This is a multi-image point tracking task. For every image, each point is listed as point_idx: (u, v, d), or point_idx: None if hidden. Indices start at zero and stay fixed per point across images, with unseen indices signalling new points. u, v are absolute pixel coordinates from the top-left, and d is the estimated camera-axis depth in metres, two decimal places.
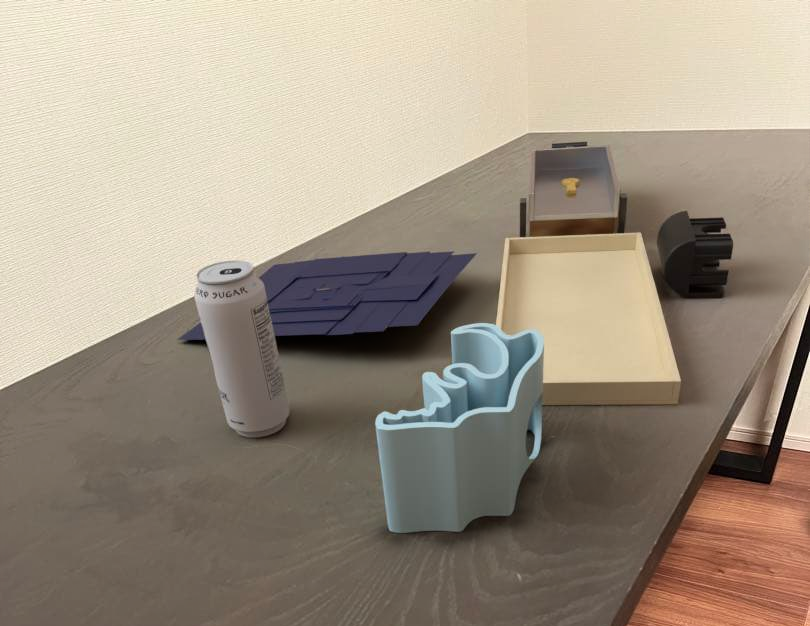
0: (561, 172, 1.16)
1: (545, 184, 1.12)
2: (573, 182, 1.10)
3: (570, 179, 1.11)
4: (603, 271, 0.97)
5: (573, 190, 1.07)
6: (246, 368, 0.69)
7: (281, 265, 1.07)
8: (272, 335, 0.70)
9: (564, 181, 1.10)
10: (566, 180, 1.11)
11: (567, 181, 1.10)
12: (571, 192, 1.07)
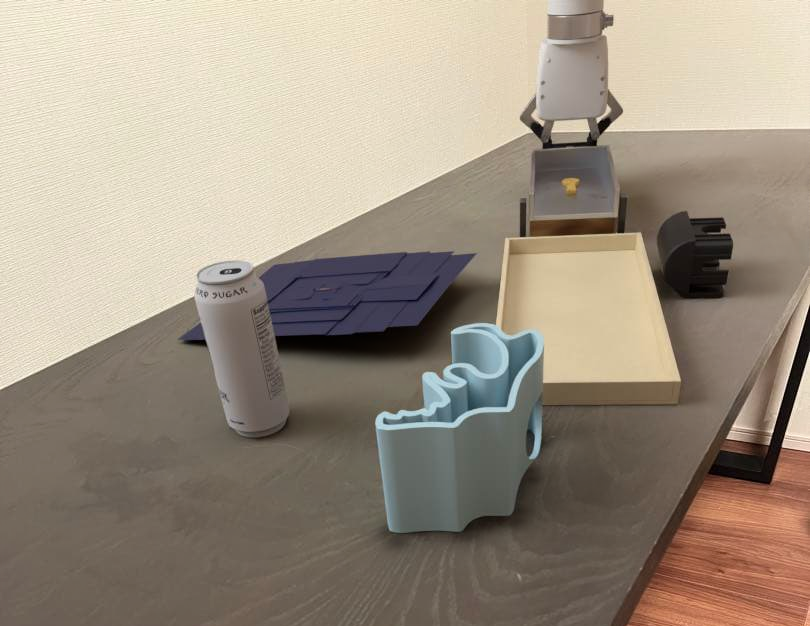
0: (561, 172, 1.16)
1: (545, 184, 1.12)
2: (573, 182, 1.10)
3: (570, 179, 1.11)
4: (603, 271, 0.97)
5: (573, 190, 1.07)
6: (246, 368, 0.69)
7: (281, 265, 1.07)
8: (272, 335, 0.70)
9: (564, 181, 1.10)
10: (566, 180, 1.11)
11: (567, 181, 1.10)
12: (571, 192, 1.07)
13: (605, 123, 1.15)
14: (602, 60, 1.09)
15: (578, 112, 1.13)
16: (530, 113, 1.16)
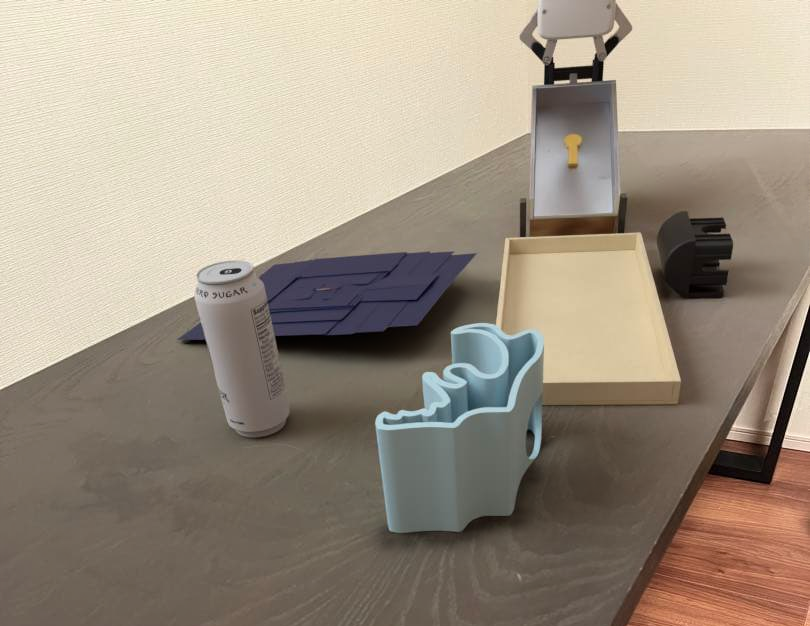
0: (564, 113, 1.09)
1: (546, 142, 1.07)
2: (575, 145, 1.05)
3: (572, 137, 1.06)
4: (603, 271, 0.97)
5: (575, 163, 1.04)
6: (246, 368, 0.69)
7: (281, 265, 1.07)
8: (272, 335, 0.70)
9: (566, 142, 1.06)
10: (568, 139, 1.06)
11: (569, 142, 1.06)
12: (572, 165, 1.04)
13: (612, 42, 1.06)
14: None
15: (583, 29, 1.04)
16: (531, 31, 1.06)
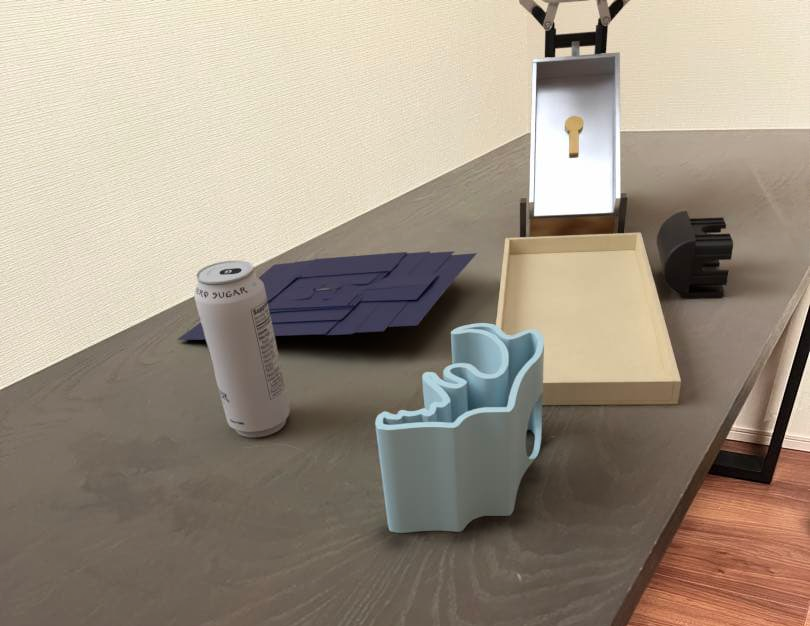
0: (565, 88, 1.05)
1: (547, 124, 1.04)
2: (576, 130, 1.03)
3: (574, 120, 1.03)
4: (603, 271, 0.97)
5: (575, 153, 1.02)
6: (246, 368, 0.69)
7: (281, 265, 1.07)
8: (272, 335, 0.70)
9: (567, 126, 1.03)
10: (569, 123, 1.03)
11: (570, 126, 1.03)
12: (573, 154, 1.02)
13: (617, 5, 1.00)
14: None
15: None
16: None
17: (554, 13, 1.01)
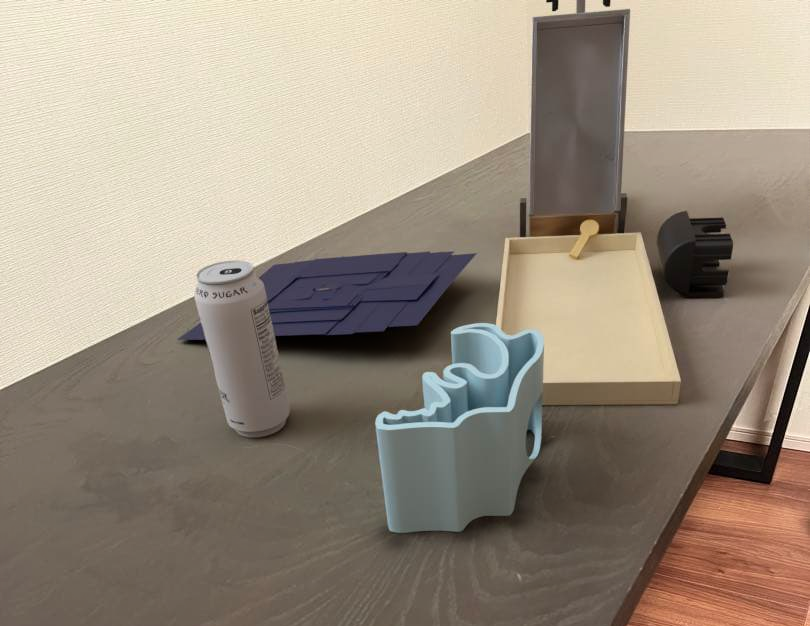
0: (568, 43, 0.95)
1: (548, 96, 0.97)
2: (588, 235, 1.01)
3: (591, 224, 1.01)
4: (603, 271, 0.97)
5: (575, 256, 1.00)
6: (246, 368, 0.69)
7: (281, 265, 1.07)
8: (272, 335, 0.70)
9: (582, 227, 1.01)
10: (585, 225, 1.01)
11: (584, 229, 1.01)
12: (573, 257, 1.00)
13: None
14: None
15: None
16: None
17: None
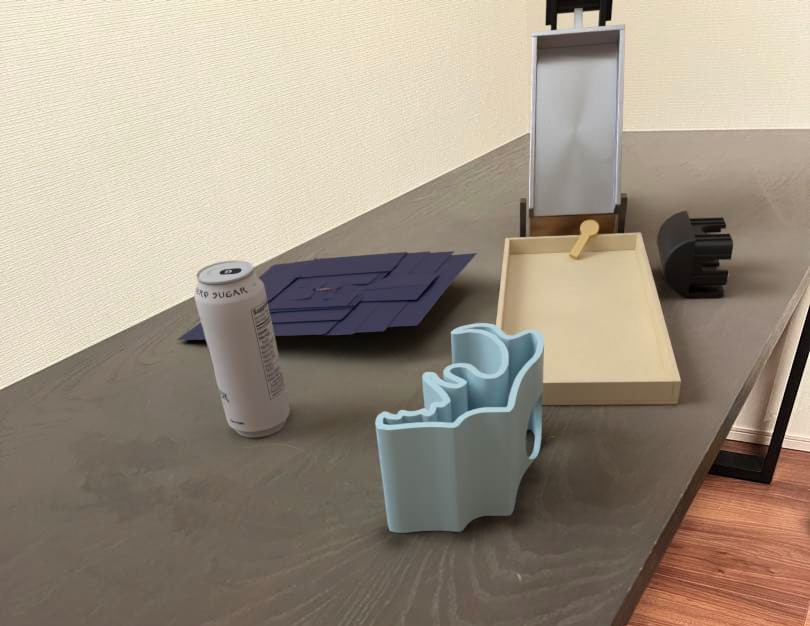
0: (567, 61, 1.00)
1: (547, 107, 1.01)
2: (588, 235, 1.01)
3: (591, 224, 1.01)
4: (603, 271, 0.97)
5: (575, 256, 1.00)
6: (246, 368, 0.69)
7: (281, 265, 1.07)
8: (272, 335, 0.70)
9: (582, 227, 1.01)
10: (585, 225, 1.01)
11: (584, 229, 1.01)
12: (573, 257, 1.00)
13: None
14: None
15: None
16: None
17: None
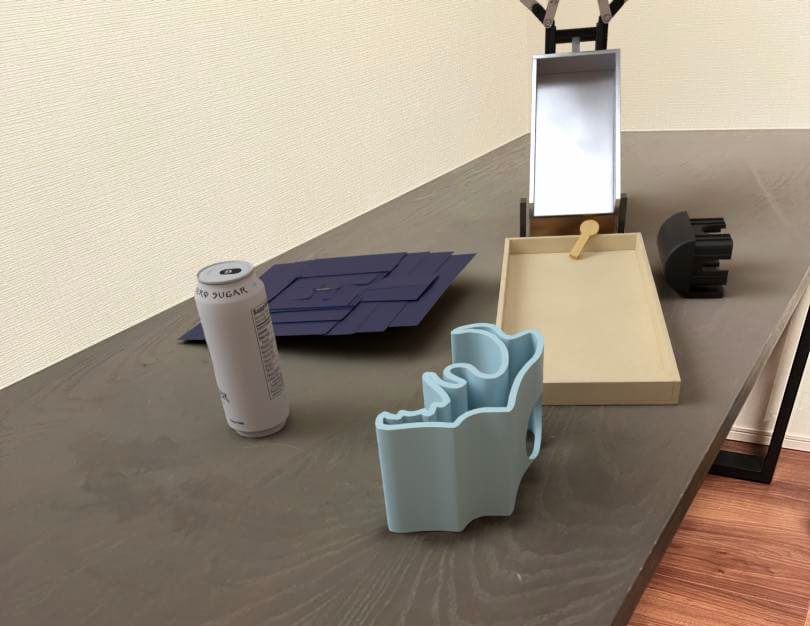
0: (565, 84, 1.05)
1: (547, 122, 1.04)
2: (588, 235, 1.01)
3: (591, 224, 1.01)
4: (603, 271, 0.97)
5: (575, 256, 1.00)
6: (246, 368, 0.69)
7: (281, 265, 1.07)
8: (272, 335, 0.70)
9: (582, 227, 1.01)
10: (585, 225, 1.01)
11: (584, 229, 1.01)
12: (573, 257, 1.00)
13: (618, 2, 1.00)
14: None
15: None
16: None
17: (554, 10, 1.01)
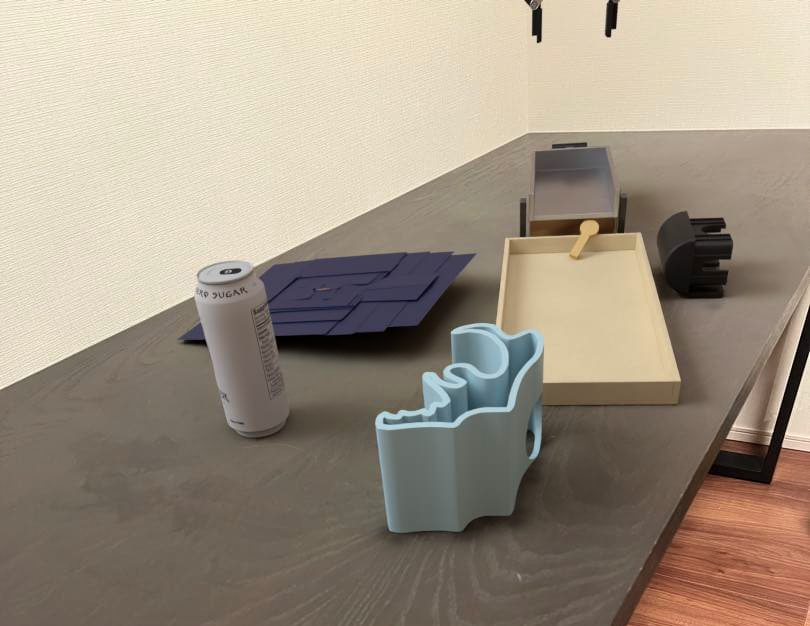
0: (561, 172, 1.16)
1: (545, 184, 1.12)
2: (588, 235, 1.01)
3: (591, 224, 1.01)
4: (603, 271, 0.97)
5: (575, 256, 1.00)
6: (246, 368, 0.69)
7: (281, 265, 1.07)
8: (272, 335, 0.70)
9: (582, 227, 1.01)
10: (585, 225, 1.01)
11: (584, 229, 1.01)
12: (573, 257, 1.00)
13: None
14: None
15: None
16: None
17: None
